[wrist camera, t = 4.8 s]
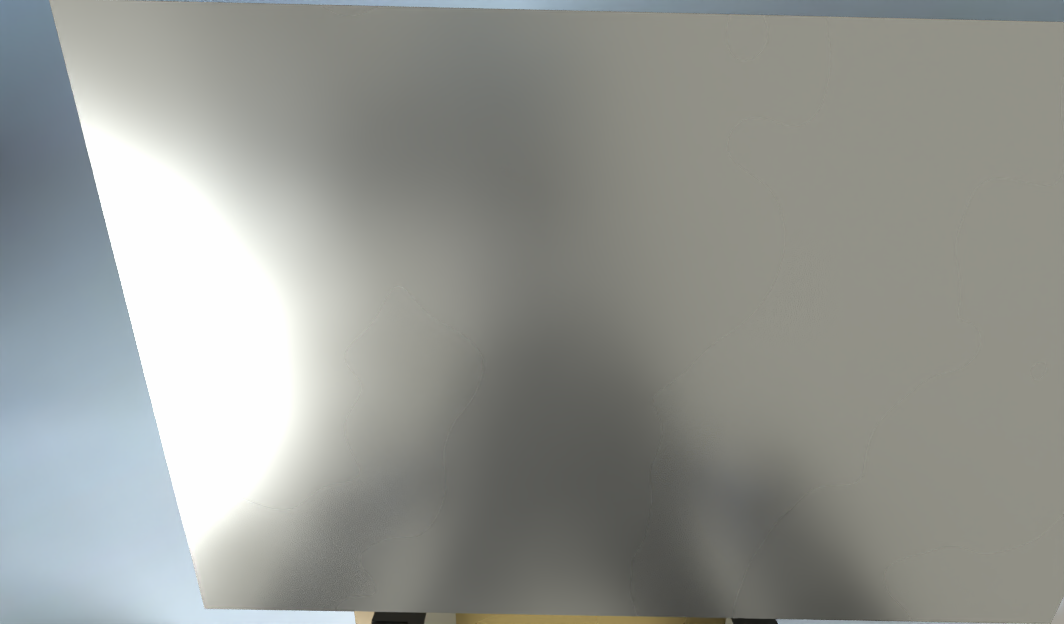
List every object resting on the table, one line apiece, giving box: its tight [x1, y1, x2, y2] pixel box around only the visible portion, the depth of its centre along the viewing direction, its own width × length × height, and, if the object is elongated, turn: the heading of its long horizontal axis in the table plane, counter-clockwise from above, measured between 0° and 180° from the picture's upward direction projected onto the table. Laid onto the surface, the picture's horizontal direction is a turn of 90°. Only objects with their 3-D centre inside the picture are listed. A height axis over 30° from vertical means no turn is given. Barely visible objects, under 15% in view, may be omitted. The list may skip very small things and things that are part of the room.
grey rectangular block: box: [49, 0, 1064, 624], centre depth 9 cm, size 5×8×10 cm, turn 89°
